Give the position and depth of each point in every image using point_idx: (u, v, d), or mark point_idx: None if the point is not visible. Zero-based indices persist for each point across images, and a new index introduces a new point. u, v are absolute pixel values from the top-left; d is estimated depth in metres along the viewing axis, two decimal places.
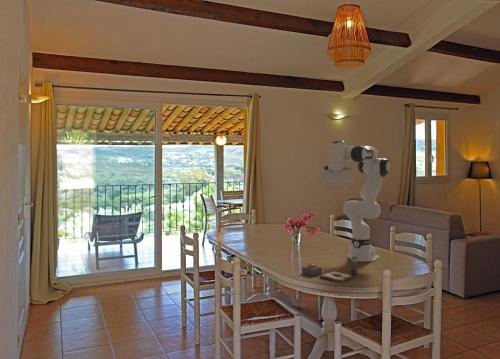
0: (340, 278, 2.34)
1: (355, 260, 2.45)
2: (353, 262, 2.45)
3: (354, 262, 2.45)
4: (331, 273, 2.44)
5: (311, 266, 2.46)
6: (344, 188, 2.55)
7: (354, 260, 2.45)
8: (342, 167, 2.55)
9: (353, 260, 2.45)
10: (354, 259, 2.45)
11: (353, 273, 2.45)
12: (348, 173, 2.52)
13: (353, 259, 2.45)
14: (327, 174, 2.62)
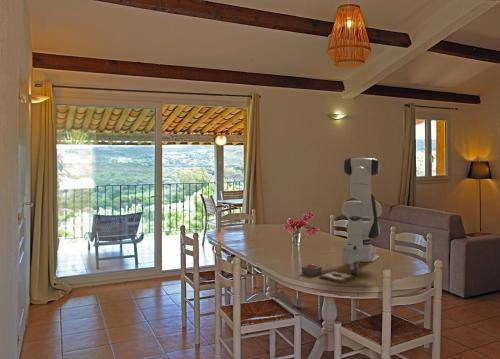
0: (340, 278, 2.34)
1: None
2: None
3: (354, 262, 2.45)
4: (331, 273, 2.44)
5: (311, 266, 2.46)
6: None
7: None
8: None
9: None
10: None
11: (353, 273, 2.45)
12: (364, 248, 2.51)
13: None
14: (351, 254, 2.40)
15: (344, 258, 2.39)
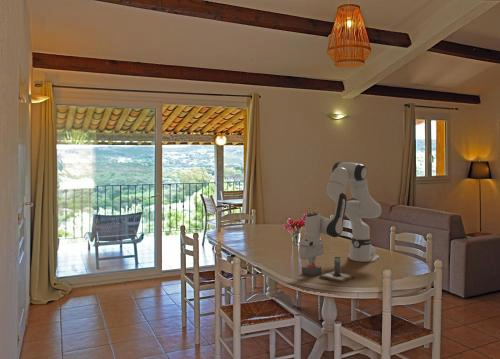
0: (340, 278, 2.34)
1: (338, 260, 2.38)
2: (336, 262, 2.39)
3: (337, 262, 2.39)
4: (331, 273, 2.44)
5: (311, 266, 2.46)
6: (314, 262, 2.49)
7: (336, 260, 2.38)
8: None
9: (336, 260, 2.39)
10: (337, 259, 2.38)
11: (336, 273, 2.39)
12: (322, 245, 2.53)
13: (336, 259, 2.39)
14: (308, 250, 2.42)
15: (301, 254, 2.41)
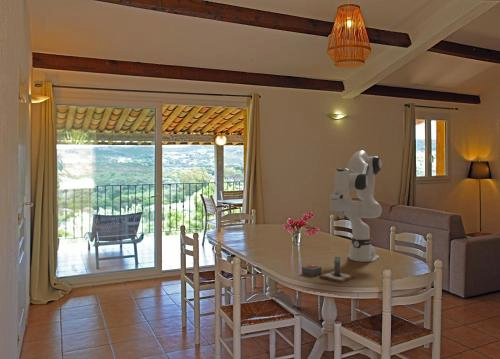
0: (340, 278, 2.34)
1: (338, 260, 2.38)
2: (336, 262, 2.39)
3: (337, 262, 2.39)
4: (331, 273, 2.44)
5: (311, 267, 2.46)
6: (343, 215, 2.57)
7: (336, 260, 2.38)
8: None
9: (336, 260, 2.39)
10: (337, 259, 2.38)
11: (336, 273, 2.39)
12: (351, 200, 2.61)
13: (336, 259, 2.39)
14: (338, 203, 2.51)
15: (331, 206, 2.49)
